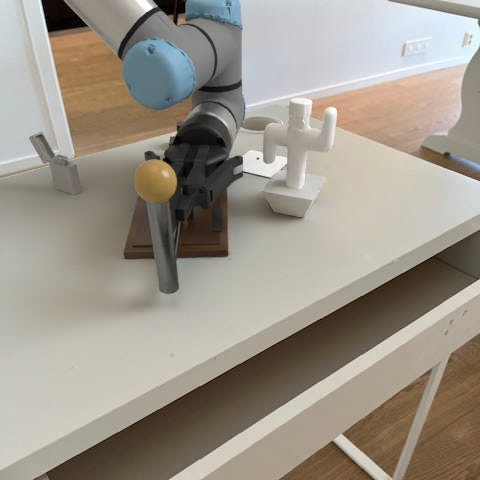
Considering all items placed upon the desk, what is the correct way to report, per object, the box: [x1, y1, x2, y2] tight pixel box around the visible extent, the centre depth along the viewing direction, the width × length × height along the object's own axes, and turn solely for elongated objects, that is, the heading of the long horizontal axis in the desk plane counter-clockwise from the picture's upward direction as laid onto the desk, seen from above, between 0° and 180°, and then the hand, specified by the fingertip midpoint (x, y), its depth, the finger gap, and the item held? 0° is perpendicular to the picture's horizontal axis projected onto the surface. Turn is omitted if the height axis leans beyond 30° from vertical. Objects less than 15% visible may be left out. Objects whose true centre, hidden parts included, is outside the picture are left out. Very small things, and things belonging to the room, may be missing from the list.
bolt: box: [133, 159, 183, 295], centre depth 66 cm, size 42×4×15 cm, turn 1°
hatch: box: [123, 188, 229, 259], centre depth 73 cm, size 28×13×4 cm, turn 1°
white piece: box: [241, 149, 287, 179], centre depth 84 cm, size 8×8×1 cm
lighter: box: [28, 131, 83, 196], centre depth 76 cm, size 7×2×8 cm, turn 59°
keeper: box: [168, 121, 184, 148], centre depth 89 cm, size 3×7×4 cm, turn 91°
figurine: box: [261, 97, 338, 219], centre depth 68 cm, size 7×9×15 cm
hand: (160, 230), depth 53 cm, fingers closed
